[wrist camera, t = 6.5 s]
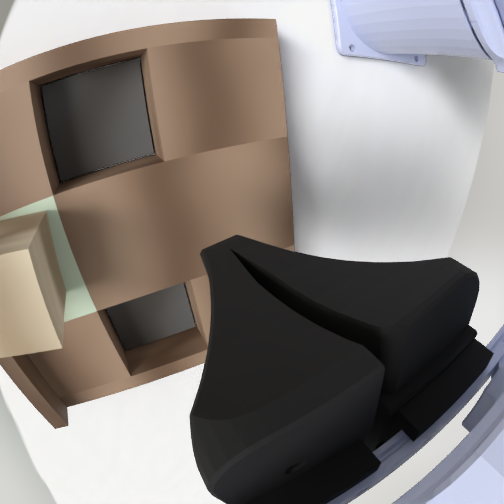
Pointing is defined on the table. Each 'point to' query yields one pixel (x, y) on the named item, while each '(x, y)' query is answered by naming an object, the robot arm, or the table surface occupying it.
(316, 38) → the table surface
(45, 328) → the maple block
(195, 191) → the box
